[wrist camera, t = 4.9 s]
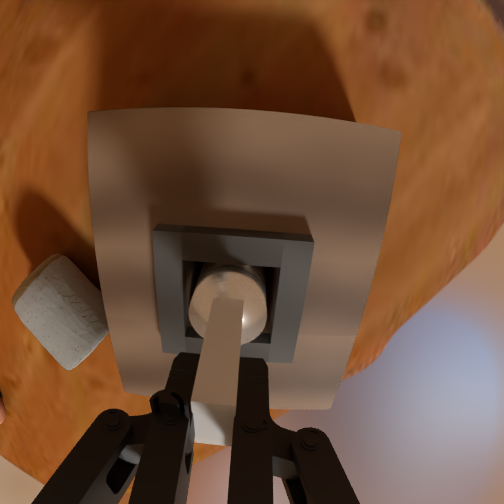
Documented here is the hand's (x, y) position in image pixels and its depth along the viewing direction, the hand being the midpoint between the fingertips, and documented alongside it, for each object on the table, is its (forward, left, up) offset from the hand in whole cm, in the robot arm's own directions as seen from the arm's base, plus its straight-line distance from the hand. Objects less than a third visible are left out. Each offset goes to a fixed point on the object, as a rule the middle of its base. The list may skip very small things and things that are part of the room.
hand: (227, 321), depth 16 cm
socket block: (0, 0, -10) cm, 10 cm away
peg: (0, 0, -9) cm, 9 cm away
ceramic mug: (+7, -16, -11) cm, 20 cm away
